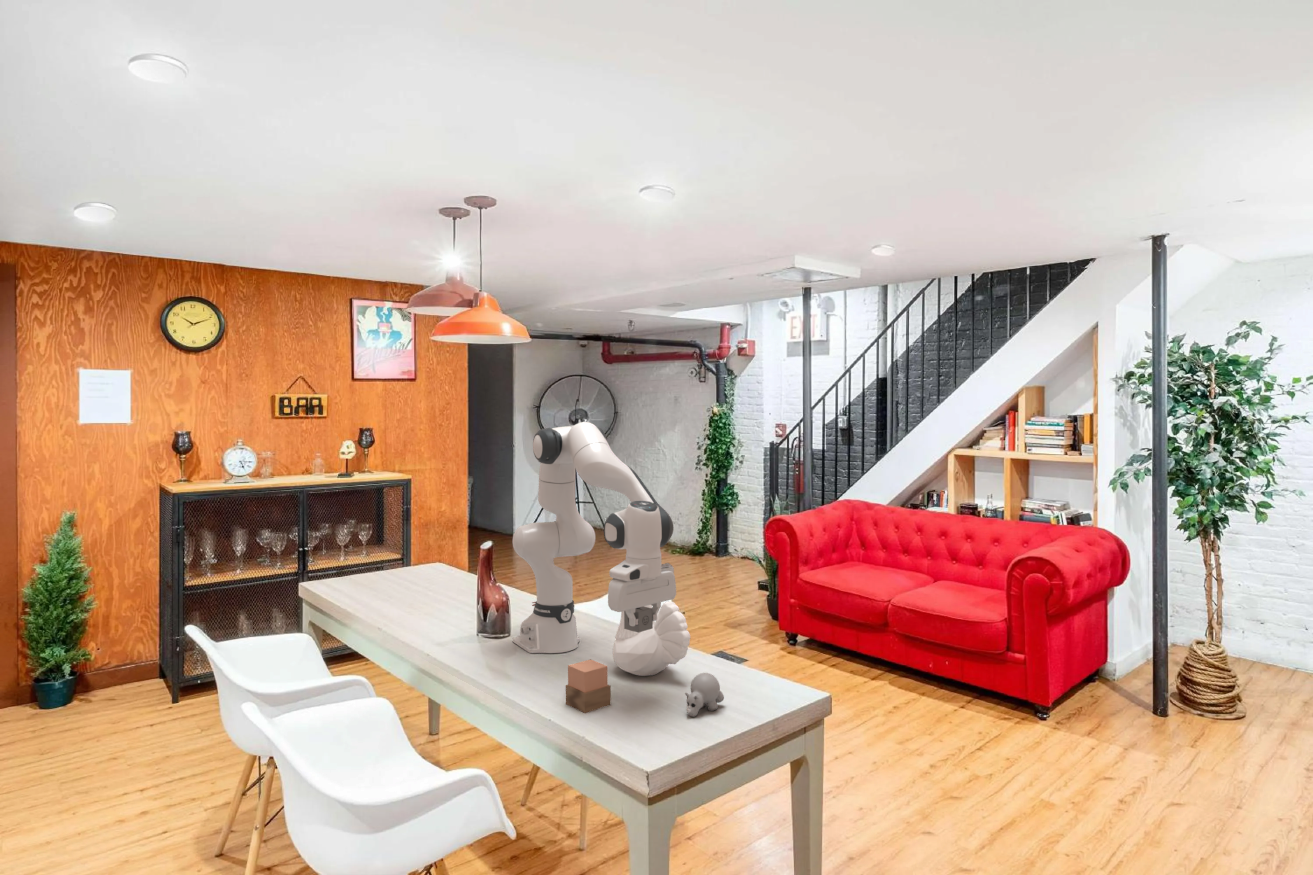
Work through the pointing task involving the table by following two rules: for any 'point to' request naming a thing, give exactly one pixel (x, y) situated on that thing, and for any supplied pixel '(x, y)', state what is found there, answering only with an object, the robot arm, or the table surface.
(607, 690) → the walnut base block
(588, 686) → the terracotta top block
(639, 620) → the dice cube
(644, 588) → the robot arm
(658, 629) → the decorative rooster
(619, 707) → the table surface
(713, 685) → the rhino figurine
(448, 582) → the table surface
